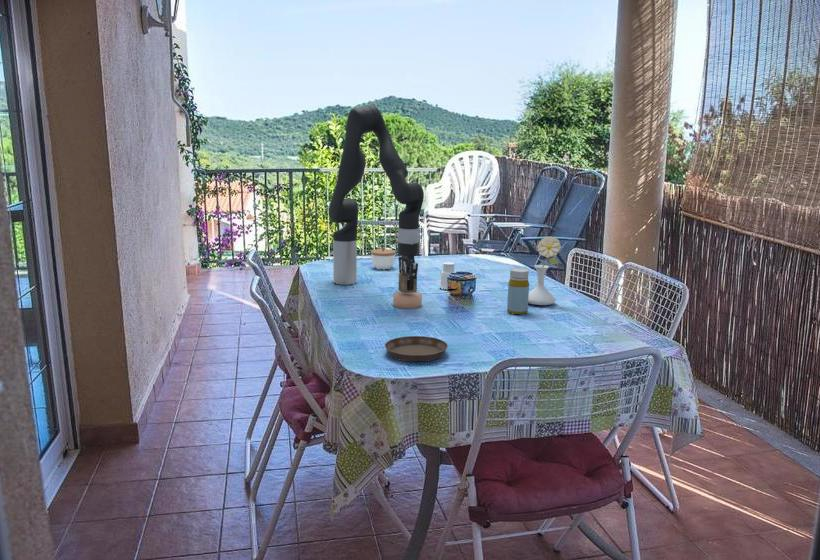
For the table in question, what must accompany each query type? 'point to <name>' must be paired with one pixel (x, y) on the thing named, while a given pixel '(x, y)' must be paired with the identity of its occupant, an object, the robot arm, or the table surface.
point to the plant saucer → (416, 348)
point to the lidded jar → (383, 258)
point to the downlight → (446, 273)
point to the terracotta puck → (407, 300)
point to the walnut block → (404, 284)
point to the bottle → (518, 291)
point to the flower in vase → (540, 293)
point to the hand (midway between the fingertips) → (407, 288)
